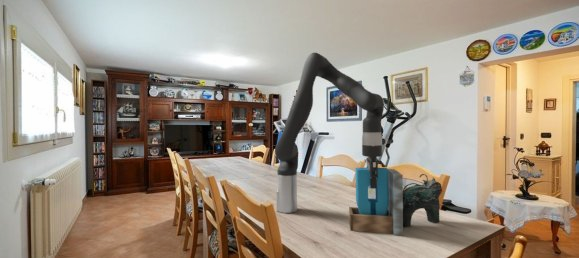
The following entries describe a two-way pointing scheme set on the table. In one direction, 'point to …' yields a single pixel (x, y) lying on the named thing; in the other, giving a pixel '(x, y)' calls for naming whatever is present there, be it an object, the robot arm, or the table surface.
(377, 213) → the block
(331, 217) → the table surface
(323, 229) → the table surface
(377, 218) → the wooden stand
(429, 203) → the dark green elephant figurine
